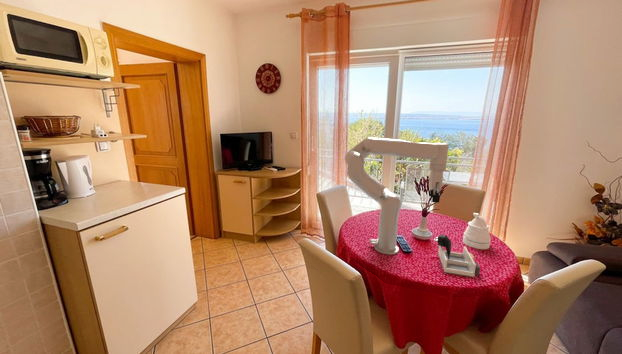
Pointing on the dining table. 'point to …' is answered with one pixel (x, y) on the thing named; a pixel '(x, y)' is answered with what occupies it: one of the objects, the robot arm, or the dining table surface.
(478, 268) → the grey flat block
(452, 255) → the two-cubby white shelf
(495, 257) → the dining table surface
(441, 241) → the power plug
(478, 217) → the honey pot
